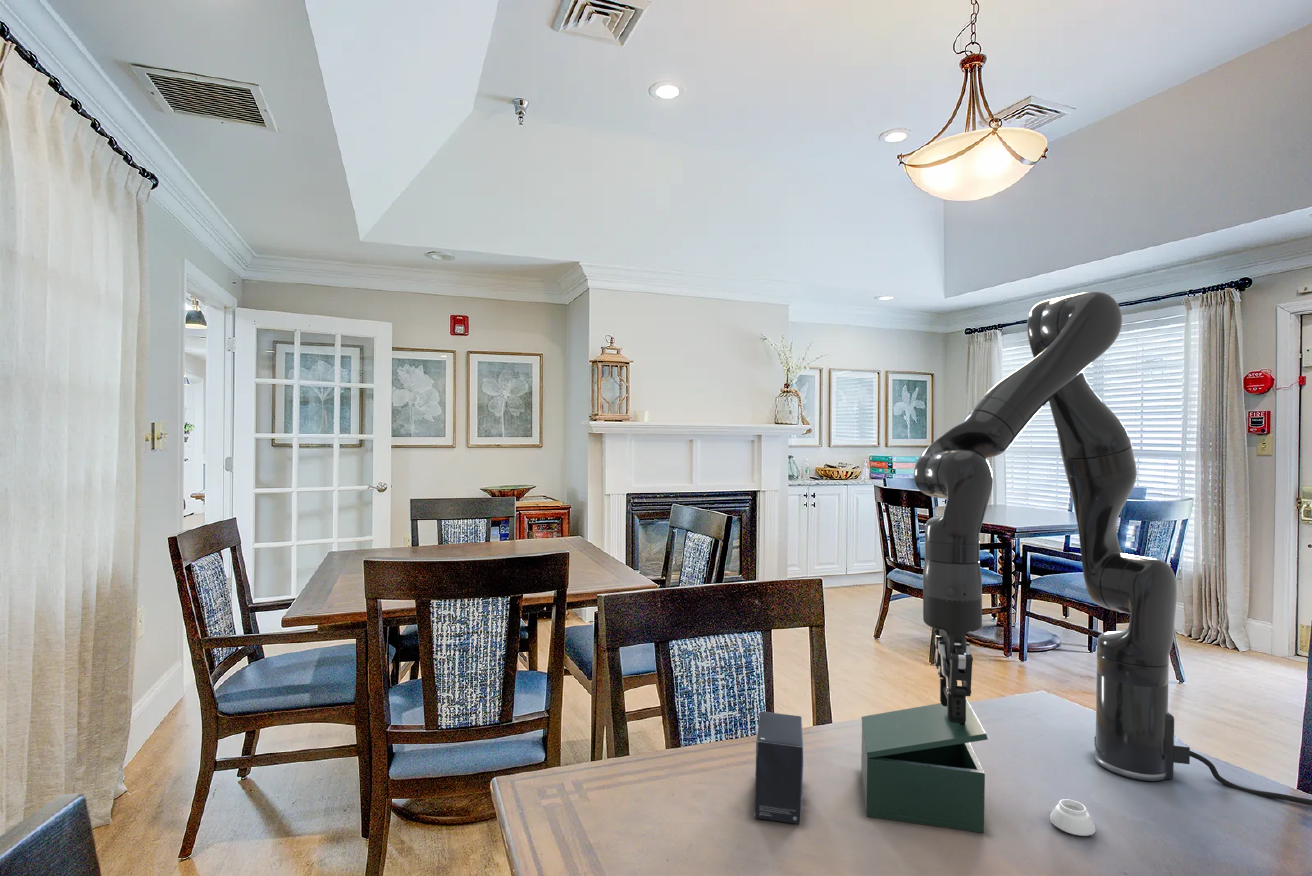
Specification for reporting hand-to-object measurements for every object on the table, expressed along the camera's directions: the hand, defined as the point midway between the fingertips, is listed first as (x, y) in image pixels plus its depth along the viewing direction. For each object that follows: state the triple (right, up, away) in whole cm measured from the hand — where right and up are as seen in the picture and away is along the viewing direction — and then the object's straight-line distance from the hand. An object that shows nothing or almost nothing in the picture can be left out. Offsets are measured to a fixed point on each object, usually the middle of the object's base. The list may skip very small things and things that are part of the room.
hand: (952, 712), depth 93 cm
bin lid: (-4, -3, +1) cm, 5 cm away
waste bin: (-5, -13, +1) cm, 14 cm away
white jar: (+14, -13, -5) cm, 20 cm away
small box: (-24, -13, 0) cm, 27 cm away
